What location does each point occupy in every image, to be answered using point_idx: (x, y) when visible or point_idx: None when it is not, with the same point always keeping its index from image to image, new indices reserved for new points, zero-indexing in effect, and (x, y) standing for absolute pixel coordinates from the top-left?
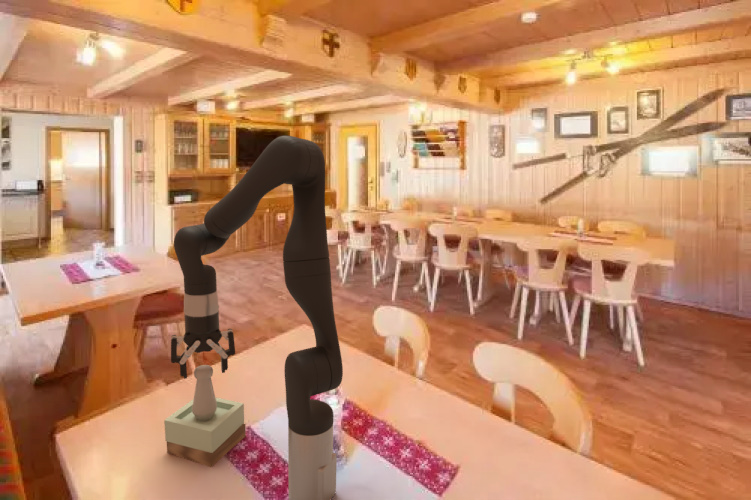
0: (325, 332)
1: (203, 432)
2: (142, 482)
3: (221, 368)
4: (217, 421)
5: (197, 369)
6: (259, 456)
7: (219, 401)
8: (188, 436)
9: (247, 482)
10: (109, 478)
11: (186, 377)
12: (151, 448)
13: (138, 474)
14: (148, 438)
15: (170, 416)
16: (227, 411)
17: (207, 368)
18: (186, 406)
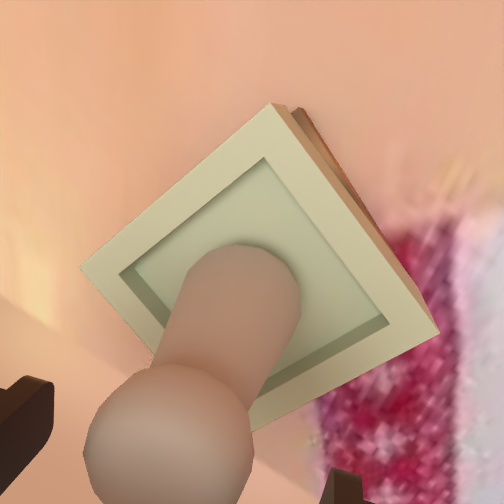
0: None
1: None
2: (86, 312)
3: (328, 494)
4: (271, 398)
5: (98, 487)
6: (396, 394)
7: (336, 246)
8: None
9: (318, 461)
10: (11, 249)
11: (40, 443)
12: (110, 167)
13: (76, 274)
14: (103, 96)
15: (102, 253)
16: (337, 353)
17: None
18: (176, 204)
